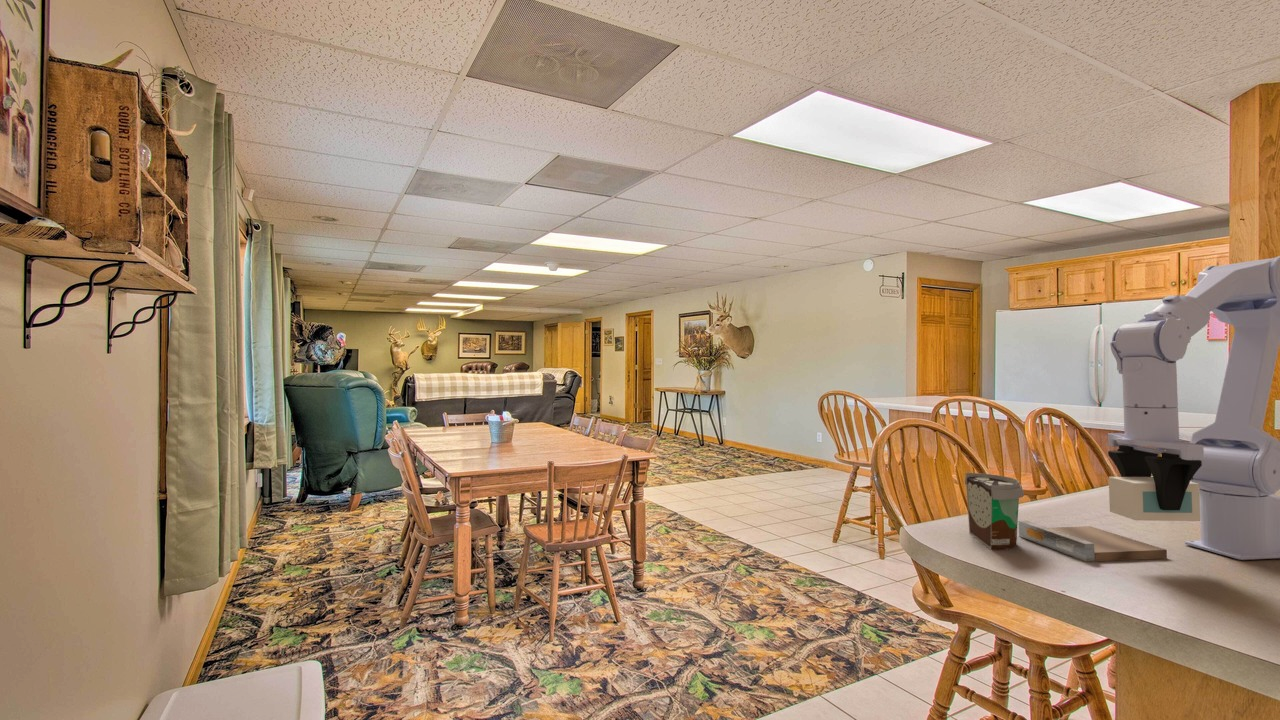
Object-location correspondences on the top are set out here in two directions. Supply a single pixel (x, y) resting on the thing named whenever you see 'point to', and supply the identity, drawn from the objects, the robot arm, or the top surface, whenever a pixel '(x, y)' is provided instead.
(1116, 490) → the carton
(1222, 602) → the top surface
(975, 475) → the food container
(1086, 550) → the price rail
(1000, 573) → the top surface
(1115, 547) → the shelf board
